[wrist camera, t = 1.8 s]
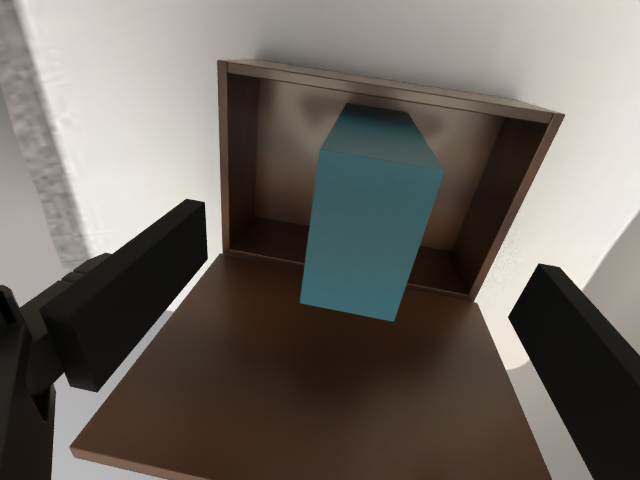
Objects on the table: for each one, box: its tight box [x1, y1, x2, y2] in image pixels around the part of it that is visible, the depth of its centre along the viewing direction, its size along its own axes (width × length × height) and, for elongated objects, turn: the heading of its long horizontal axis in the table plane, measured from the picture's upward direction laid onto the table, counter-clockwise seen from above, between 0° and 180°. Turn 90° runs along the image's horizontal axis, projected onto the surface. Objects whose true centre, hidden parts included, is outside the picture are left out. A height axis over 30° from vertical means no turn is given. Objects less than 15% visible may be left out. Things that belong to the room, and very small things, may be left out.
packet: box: [300, 103, 445, 321], centre depth 20 cm, size 8×5×14 cm, turn 173°
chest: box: [217, 59, 565, 302], centre depth 24 cm, size 13×19×7 cm
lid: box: [70, 254, 552, 480], centre depth 20 cm, size 14×19×8 cm
